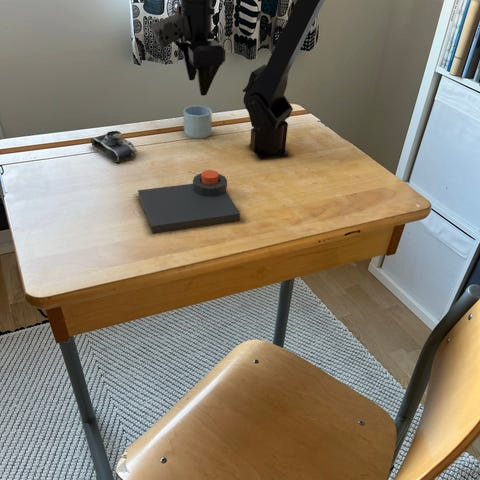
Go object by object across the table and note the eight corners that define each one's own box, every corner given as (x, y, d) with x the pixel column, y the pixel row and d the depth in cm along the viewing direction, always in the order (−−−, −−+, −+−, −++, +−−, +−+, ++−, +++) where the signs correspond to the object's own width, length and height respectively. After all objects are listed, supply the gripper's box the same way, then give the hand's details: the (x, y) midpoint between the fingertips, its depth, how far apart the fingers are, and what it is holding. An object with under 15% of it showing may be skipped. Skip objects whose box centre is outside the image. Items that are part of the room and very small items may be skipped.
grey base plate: (220, 185, 96) (221, 170, 94) (242, 220, 87) (243, 204, 85) (138, 195, 91) (136, 180, 89) (152, 233, 83) (150, 217, 81)
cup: (207, 127, 115) (207, 104, 112) (214, 138, 111) (215, 114, 108) (181, 129, 114) (180, 106, 110) (188, 140, 109) (187, 117, 106)
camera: (112, 140, 108) (110, 120, 105) (139, 158, 102) (138, 137, 100) (90, 146, 105) (87, 126, 102) (117, 165, 100) (115, 144, 97)
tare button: (215, 177, 92) (215, 169, 91) (220, 184, 90) (220, 176, 89) (199, 179, 92) (199, 170, 91) (204, 186, 90) (204, 178, 88)
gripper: (143, -10, 99) (149, 75, 110) (164, 13, 87) (169, 107, 97) (198, -11, 102) (199, 72, 113) (227, 11, 89) (225, 102, 100)
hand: (197, 87), depth 106 cm, fingers open, 9 cm apart
